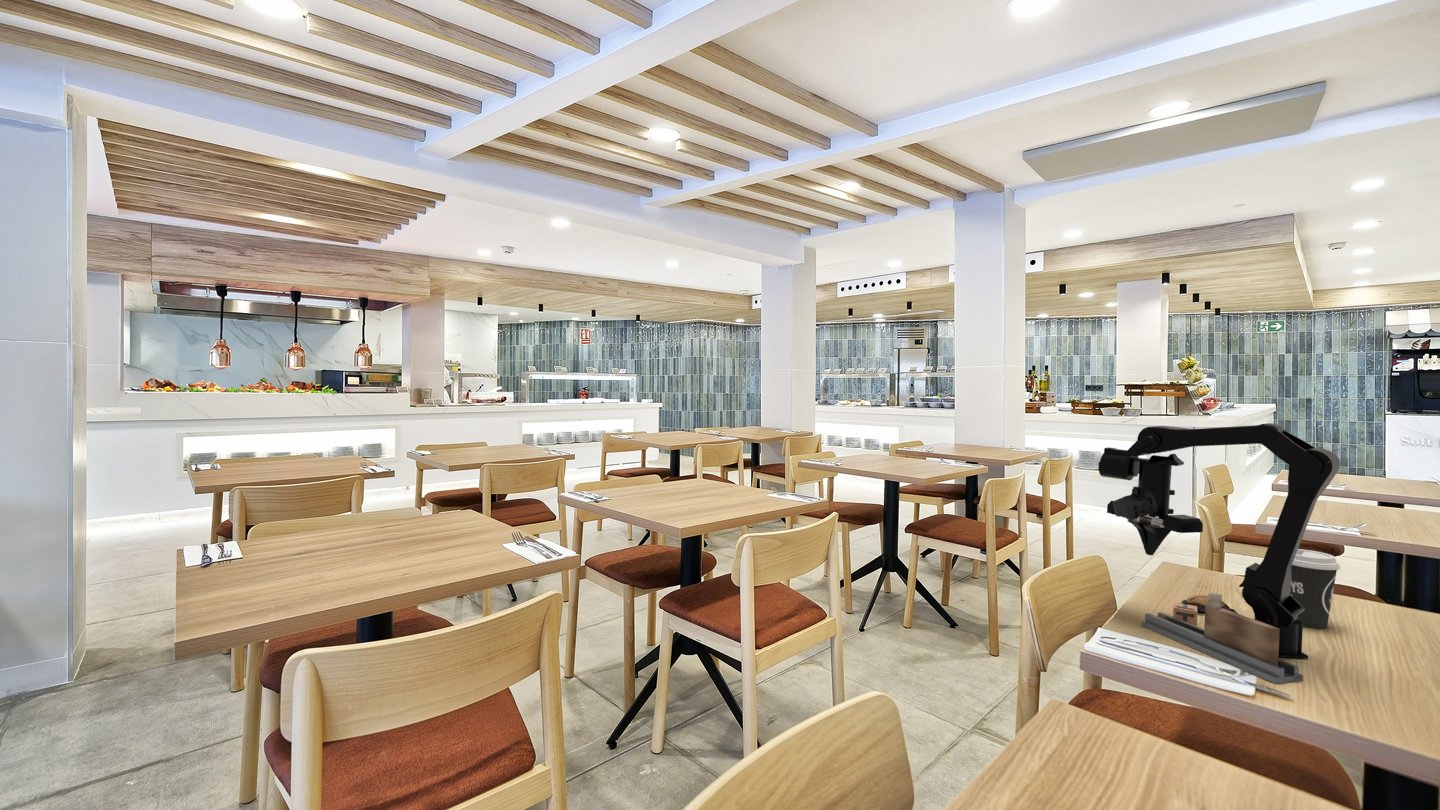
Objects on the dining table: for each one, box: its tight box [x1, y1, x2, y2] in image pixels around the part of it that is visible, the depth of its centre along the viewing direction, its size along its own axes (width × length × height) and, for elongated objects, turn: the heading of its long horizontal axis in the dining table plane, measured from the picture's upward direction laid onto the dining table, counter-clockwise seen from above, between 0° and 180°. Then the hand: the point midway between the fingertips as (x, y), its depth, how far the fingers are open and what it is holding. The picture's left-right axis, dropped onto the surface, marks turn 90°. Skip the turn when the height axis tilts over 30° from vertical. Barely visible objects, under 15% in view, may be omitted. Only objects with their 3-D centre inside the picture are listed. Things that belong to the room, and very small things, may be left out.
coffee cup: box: [1290, 548, 1341, 630], centre depth 133 cm, size 10×10×15 cm
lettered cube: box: [1172, 601, 1198, 626], centre depth 131 cm, size 4×4×4 cm
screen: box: [1203, 592, 1280, 666], centre depth 114 cm, size 12×2×9 cm, turn 12°
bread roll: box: [1180, 594, 1239, 617], centre depth 140 cm, size 11×8×4 cm
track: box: [1140, 611, 1304, 685], centre depth 119 cm, size 26×6×2 cm, turn 12°
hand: (1149, 554), depth 136 cm, fingers closed
